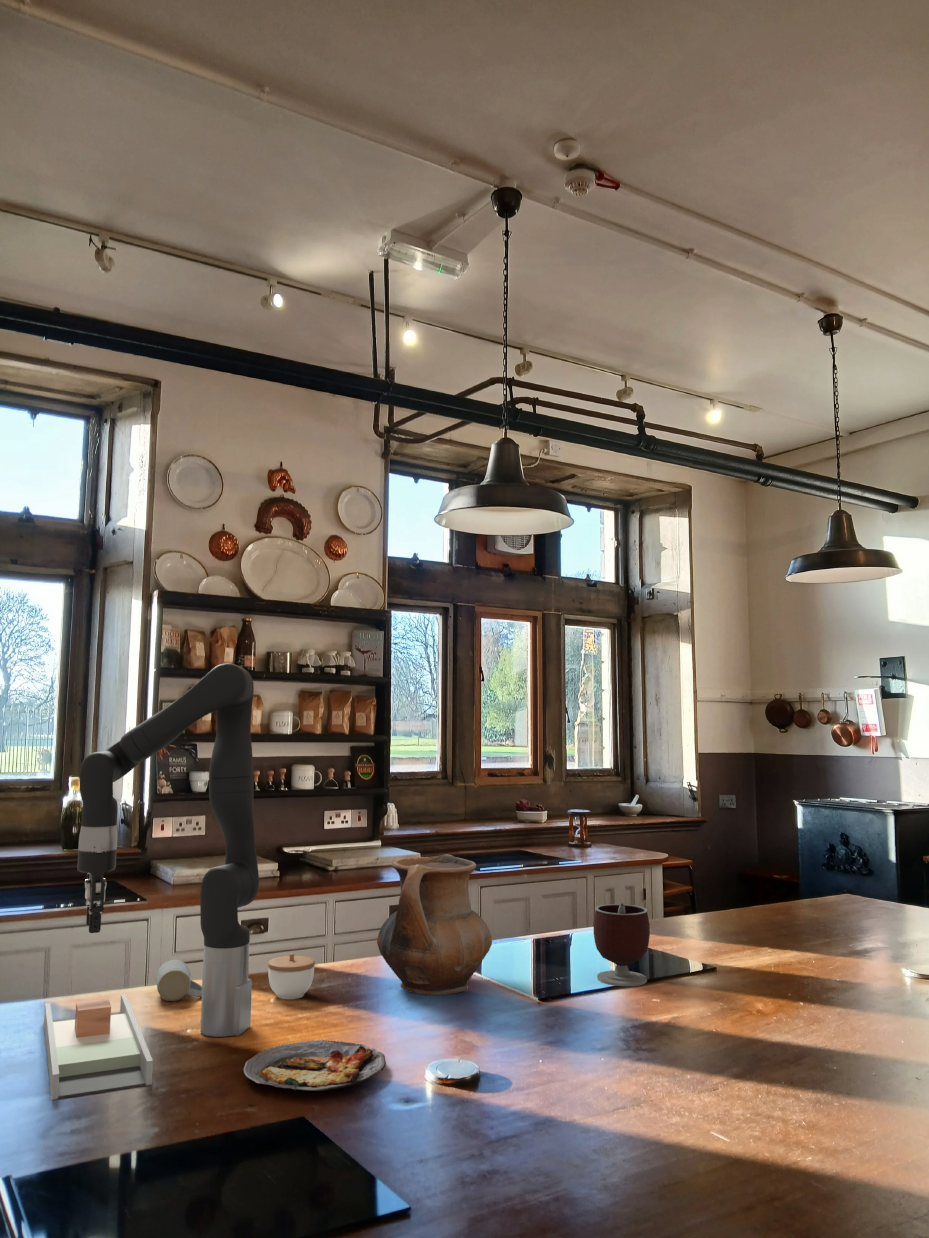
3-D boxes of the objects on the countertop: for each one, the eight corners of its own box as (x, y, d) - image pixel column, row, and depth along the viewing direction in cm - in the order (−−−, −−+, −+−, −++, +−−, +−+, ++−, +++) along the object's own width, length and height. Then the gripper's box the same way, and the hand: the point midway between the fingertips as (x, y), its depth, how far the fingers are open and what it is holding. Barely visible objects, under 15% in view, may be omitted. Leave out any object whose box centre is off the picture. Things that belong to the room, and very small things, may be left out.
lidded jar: (291, 986, 222) (292, 946, 223) (323, 994, 216) (324, 952, 217) (257, 996, 214) (258, 954, 215) (289, 1005, 207) (291, 961, 208)
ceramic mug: (156, 1004, 207) (158, 968, 208) (155, 994, 215) (157, 959, 216) (205, 1000, 211) (207, 965, 212) (202, 991, 218) (204, 957, 219)
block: (74, 1028, 183) (76, 1002, 183) (107, 1024, 185) (108, 998, 186) (76, 1037, 177) (77, 1010, 178) (109, 1033, 180) (111, 1006, 181)
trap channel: (43, 1022, 194) (45, 1002, 194) (124, 1013, 201) (125, 993, 201) (51, 1099, 154) (52, 1074, 155) (151, 1084, 161) (152, 1060, 162)
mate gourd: (593, 970, 239) (593, 891, 241) (648, 973, 237) (647, 893, 239) (593, 987, 223) (593, 902, 226) (652, 990, 222) (651, 904, 224)
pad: (53, 1061, 172) (54, 1047, 172) (133, 1050, 178) (133, 1036, 178) (55, 1080, 163) (56, 1065, 163) (139, 1067, 169) (140, 1053, 169)
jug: (493, 1005, 208) (493, 869, 212) (368, 1004, 209) (371, 868, 212) (490, 968, 241) (491, 850, 244) (383, 966, 241) (385, 849, 244)
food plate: (405, 1059, 174) (404, 1040, 175) (350, 1108, 152) (350, 1086, 153) (287, 1047, 182) (287, 1028, 183) (219, 1092, 160) (219, 1071, 161)
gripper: (76, 843, 199) (71, 923, 197) (80, 852, 186) (75, 937, 184) (113, 842, 202) (109, 920, 200) (120, 851, 189) (115, 934, 188)
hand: (93, 928), depth 192 cm, fingers open, 7 cm apart
